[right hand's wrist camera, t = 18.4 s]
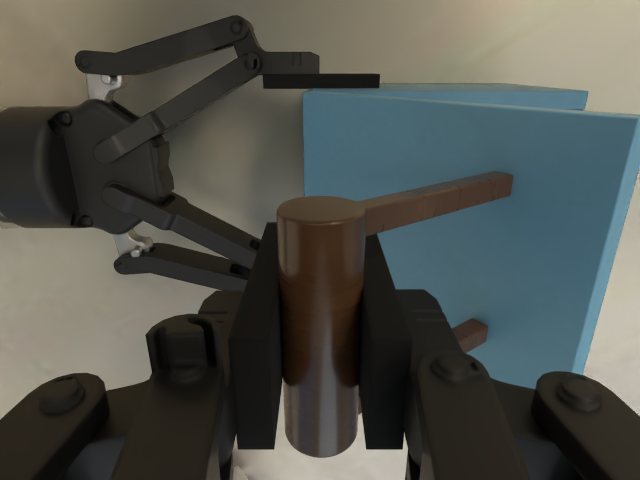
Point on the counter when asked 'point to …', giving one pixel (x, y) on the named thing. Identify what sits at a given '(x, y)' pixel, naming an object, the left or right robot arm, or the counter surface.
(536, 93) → the chest
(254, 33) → the left robot arm
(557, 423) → the right robot arm
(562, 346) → the lid
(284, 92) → the counter surface
